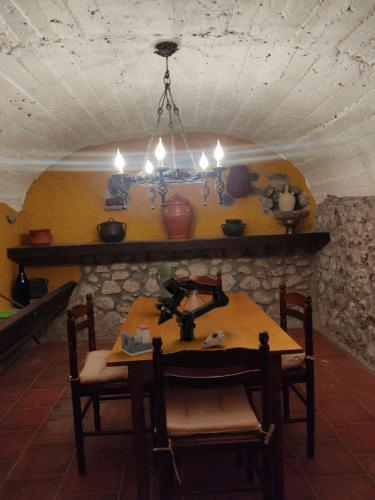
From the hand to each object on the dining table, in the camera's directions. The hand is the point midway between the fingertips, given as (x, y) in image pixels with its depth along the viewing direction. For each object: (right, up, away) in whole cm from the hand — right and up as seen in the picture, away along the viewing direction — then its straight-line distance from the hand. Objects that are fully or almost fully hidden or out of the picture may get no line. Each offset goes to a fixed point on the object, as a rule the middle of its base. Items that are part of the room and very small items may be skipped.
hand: (158, 324), depth 207 cm
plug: (-9, -10, -6) cm, 15 cm away
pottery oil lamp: (+27, -10, -3) cm, 29 cm away
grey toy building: (-9, -11, -5) cm, 15 cm away
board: (-10, -12, -6) cm, 16 cm away
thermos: (+1, -6, +65) cm, 65 cm away
